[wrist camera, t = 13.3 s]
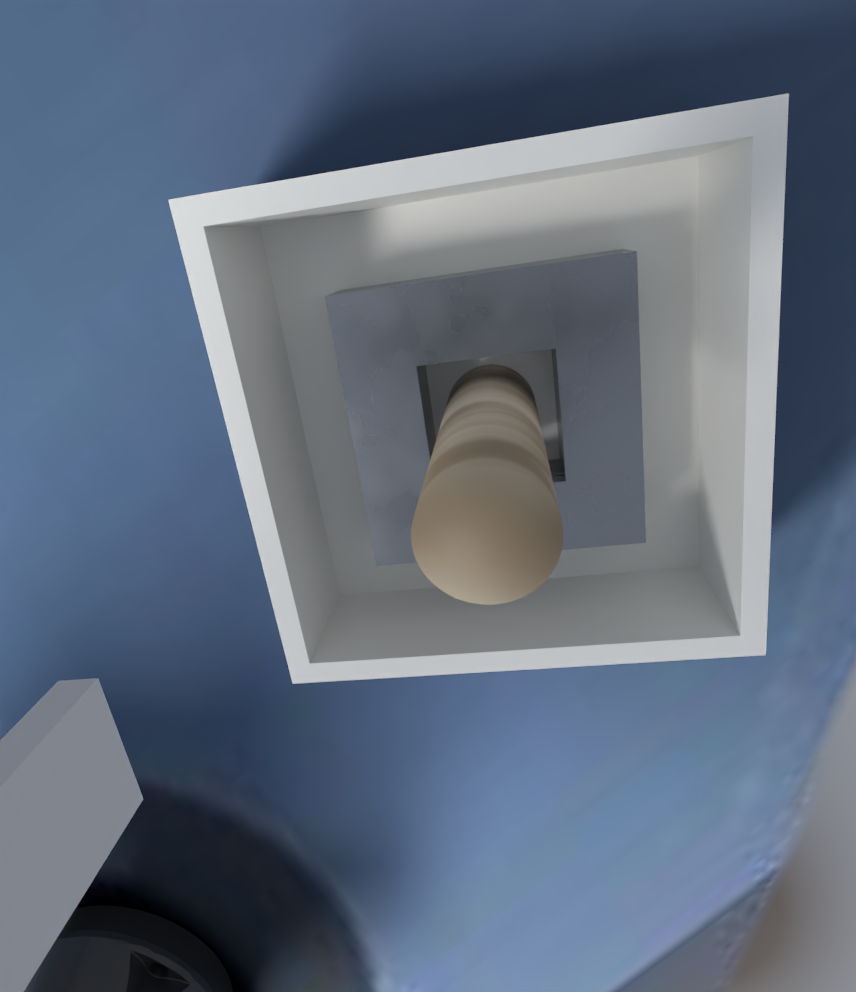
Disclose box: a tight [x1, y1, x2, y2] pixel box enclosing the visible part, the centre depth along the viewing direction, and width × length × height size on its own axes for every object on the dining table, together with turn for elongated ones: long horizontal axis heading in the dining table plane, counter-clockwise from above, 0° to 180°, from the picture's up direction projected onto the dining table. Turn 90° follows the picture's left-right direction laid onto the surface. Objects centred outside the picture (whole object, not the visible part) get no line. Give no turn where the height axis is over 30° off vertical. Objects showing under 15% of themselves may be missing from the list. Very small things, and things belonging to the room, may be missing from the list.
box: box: [168, 93, 789, 684], centre depth 28 cm, size 20×20×7 cm
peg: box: [411, 364, 563, 605], centre depth 24 cm, size 4×4×14 cm
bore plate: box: [325, 249, 646, 566], centre depth 29 cm, size 12×12×3 cm
